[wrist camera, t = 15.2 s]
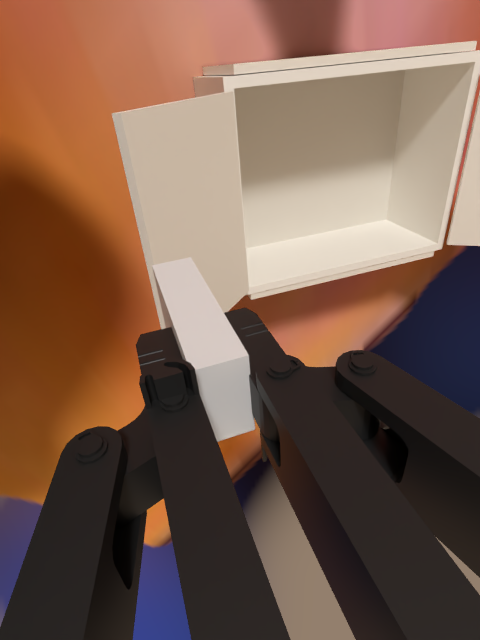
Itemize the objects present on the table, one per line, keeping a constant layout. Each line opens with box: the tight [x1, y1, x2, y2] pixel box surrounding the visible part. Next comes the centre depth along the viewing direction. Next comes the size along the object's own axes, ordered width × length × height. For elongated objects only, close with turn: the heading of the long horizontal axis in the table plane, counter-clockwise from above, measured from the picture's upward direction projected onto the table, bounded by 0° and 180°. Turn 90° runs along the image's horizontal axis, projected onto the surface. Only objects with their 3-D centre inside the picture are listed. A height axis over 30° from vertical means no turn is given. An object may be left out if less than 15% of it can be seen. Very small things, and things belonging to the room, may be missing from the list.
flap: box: [112, 91, 249, 329], centre depth 22 cm, size 9×13×1 cm
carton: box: [193, 41, 480, 300], centre depth 31 cm, size 18×15×8 cm
